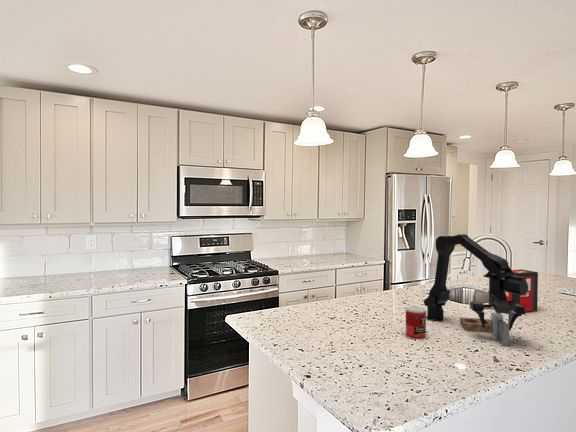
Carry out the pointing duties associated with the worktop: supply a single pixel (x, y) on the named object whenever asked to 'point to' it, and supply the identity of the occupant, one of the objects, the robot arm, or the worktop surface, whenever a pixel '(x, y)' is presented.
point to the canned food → (415, 322)
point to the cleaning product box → (532, 295)
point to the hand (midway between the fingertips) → (496, 328)
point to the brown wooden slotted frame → (475, 324)
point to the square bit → (495, 325)
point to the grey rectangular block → (503, 333)
